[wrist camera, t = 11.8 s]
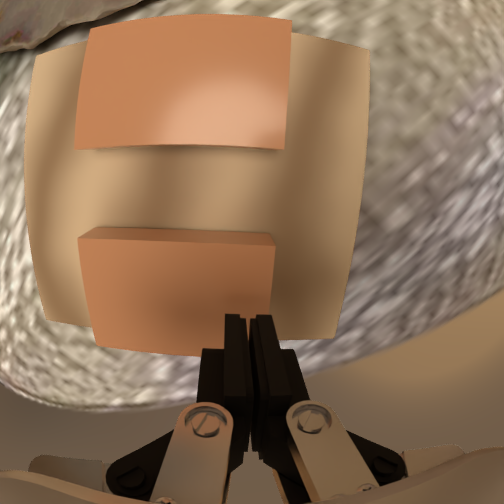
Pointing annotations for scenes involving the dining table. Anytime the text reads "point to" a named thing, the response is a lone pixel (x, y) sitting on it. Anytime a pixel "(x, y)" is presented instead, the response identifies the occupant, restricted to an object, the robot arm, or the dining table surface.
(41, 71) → the board
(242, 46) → the tile
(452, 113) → the dining table surface
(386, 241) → the dining table surface
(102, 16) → the stone tool
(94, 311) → the tile
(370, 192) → the dining table surface
